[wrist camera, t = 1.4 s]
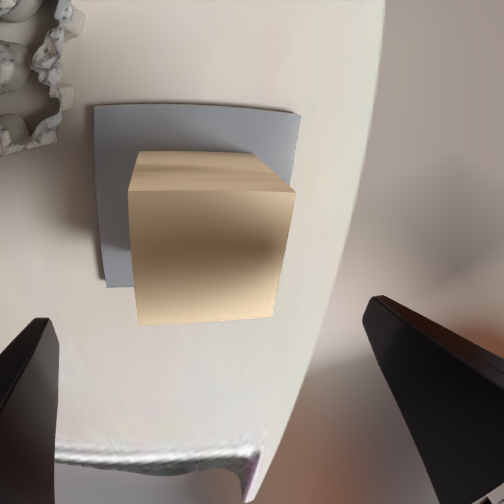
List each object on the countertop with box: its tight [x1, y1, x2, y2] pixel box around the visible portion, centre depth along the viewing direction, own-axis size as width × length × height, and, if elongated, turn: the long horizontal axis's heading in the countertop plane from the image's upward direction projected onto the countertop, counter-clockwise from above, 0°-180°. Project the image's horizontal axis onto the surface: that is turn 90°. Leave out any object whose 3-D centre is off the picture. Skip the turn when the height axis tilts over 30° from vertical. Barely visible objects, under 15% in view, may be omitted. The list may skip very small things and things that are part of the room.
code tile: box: [94, 104, 301, 288], centre depth 15 cm, size 9×9×1 cm
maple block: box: [128, 151, 296, 325], centre depth 12 cm, size 5×5×5 cm
